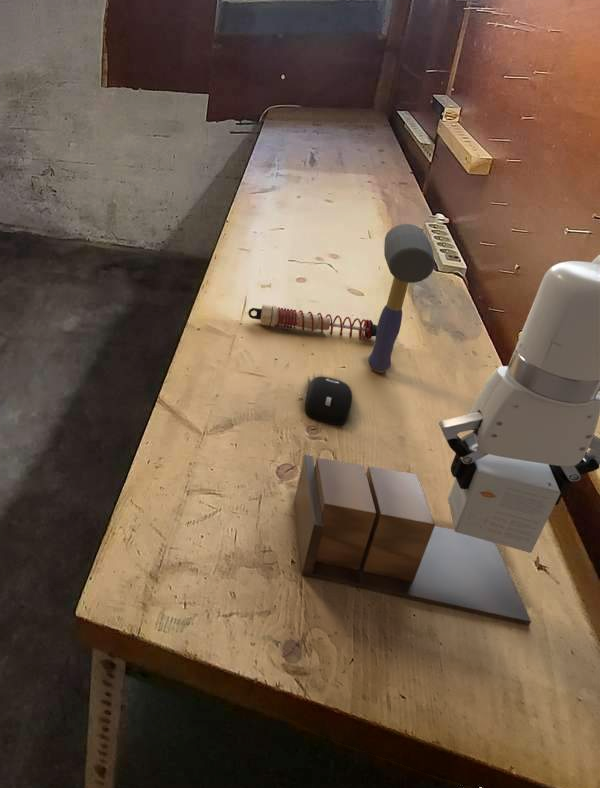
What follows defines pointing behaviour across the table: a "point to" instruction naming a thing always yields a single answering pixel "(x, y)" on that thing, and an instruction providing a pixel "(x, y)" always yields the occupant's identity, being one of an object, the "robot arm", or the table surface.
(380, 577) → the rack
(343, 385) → the portable bluetooth speaker
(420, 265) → the rubber mallet
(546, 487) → the small box
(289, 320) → the shock absorber
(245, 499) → the table surface
